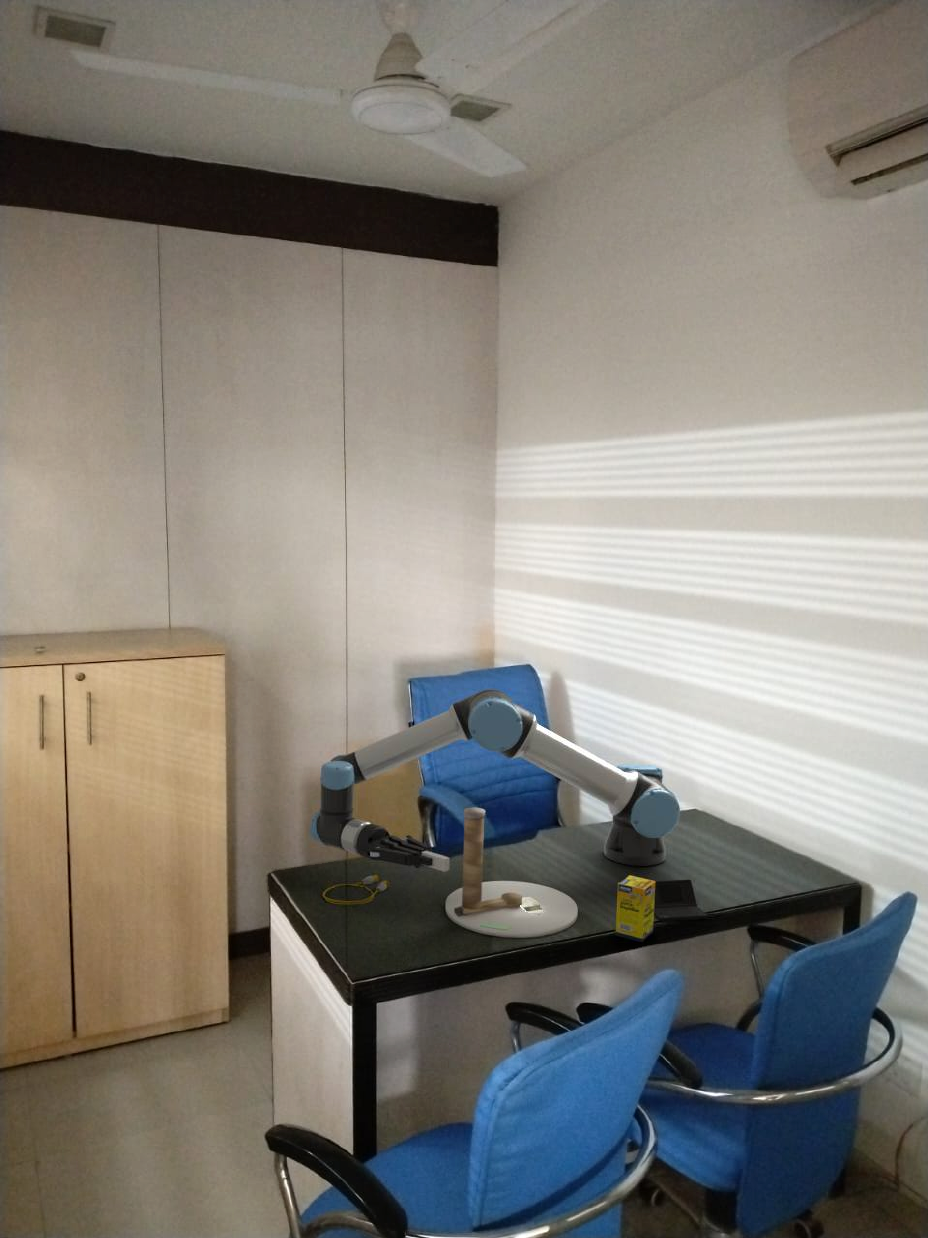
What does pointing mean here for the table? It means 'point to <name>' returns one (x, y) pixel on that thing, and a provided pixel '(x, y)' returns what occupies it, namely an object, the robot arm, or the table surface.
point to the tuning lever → (477, 868)
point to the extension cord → (365, 881)
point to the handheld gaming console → (676, 901)
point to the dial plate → (516, 911)
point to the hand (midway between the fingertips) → (446, 864)
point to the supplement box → (635, 908)
